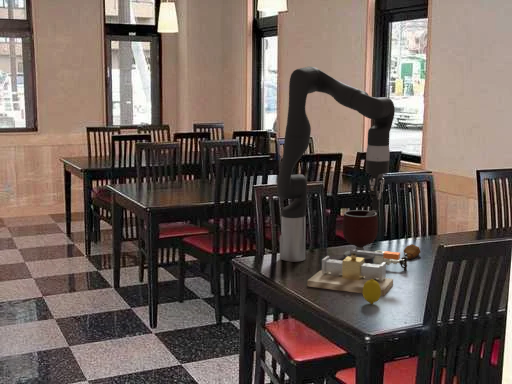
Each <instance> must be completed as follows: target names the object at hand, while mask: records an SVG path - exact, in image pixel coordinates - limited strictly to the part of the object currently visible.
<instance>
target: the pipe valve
mask: <svg viewBox="0 0 512 384" xmlns="http://www.w3.org/2000/svg"><path fill="white" fill-rule="evenodd" d="M365 260H366V259H365V258H359V257H356V254H351V257H349V256H347V257H345V258H344V259H343V260H341V259H340V260H339V259H331V258H330V255H327V256H325V257H323V258H322V259H321V270H322V274H323V275H325V274H326V273H327V272H331V276H337V277H339V276H341V275H342V278H344V279H352V280H360V279H361V278H362V277H363V276H365V280H371V279H373V280H375V279H376V278H379V281H383V280H384V279H385V278H387V277H386V273H387V271H386V270H387V265H386V262H383V263H382V264H381V265H378V264H374V263H366V262H365Z"/></svg>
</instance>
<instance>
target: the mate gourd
mask: <svg viewBox="0 0 512 384" xmlns="http://www.w3.org/2000/svg"><path fill="white" fill-rule="evenodd" d="M341 226H342V235H343V238H344V239H345V242H347V243H348V244H350V245H352V246H355V249H357V250H360V251H368V250H365V249H364V247H367V246H368V245H371V244H373V242H374V241H375V240H376V239H377V237H378V232H379V221H378V213H377V211H376V210H372V209H371V210H365V209H364V210H363V209H354V210H347V211H344V212H343V218H342V225H341ZM369 251H370V250H369ZM370 252H372V251H370ZM343 255H344V257H345V258H346V257H347V256H349V257H351V254H350V250H346V251H345V252H344V254H343ZM356 257H359V258H365V260H370V259H374V257H375V256H373V255H363V254H356Z"/></svg>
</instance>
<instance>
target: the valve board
mask: <svg viewBox="0 0 512 384" xmlns="http://www.w3.org/2000/svg"><path fill="white" fill-rule="evenodd" d="M367 281H368V280H365V276H363V277H362V278H361V279H360V280H352V279H344V278H342V275H341V276H339V277H337V276H331V272H327V273H326V274H325V275H323V274H322V269H321V270H319V271H318V272H316V273H314V275H313V276H311V277H309V279H307V287H311V288H319V289H325V290H326V289H328V290H333V291H341V292H350V293H358V294H363V286H364V284H365V283H366V282H367ZM375 281H377V282H378V283H379V285H380V288H381V295H380V297H384V296H385V295H386V294H387V293H388V292H389V291H390V289H391V288H392V287H393V285H394V278H388V277H385V279H384V280H383V281H379V278H376V279H375Z"/></svg>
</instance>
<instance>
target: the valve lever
mask: <svg viewBox="0 0 512 384" xmlns="http://www.w3.org/2000/svg"><path fill="white" fill-rule="evenodd" d="M349 251H350V254H363V255H373V256H383V258H385V259H392V260H393V259H394V260H399V261H400V259H401V252H398V251H386V250H385V251H384V253H380V252H375V251H371V252H370V250H367V251H360V250H357V249H356V248H351V249H349Z"/></svg>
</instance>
